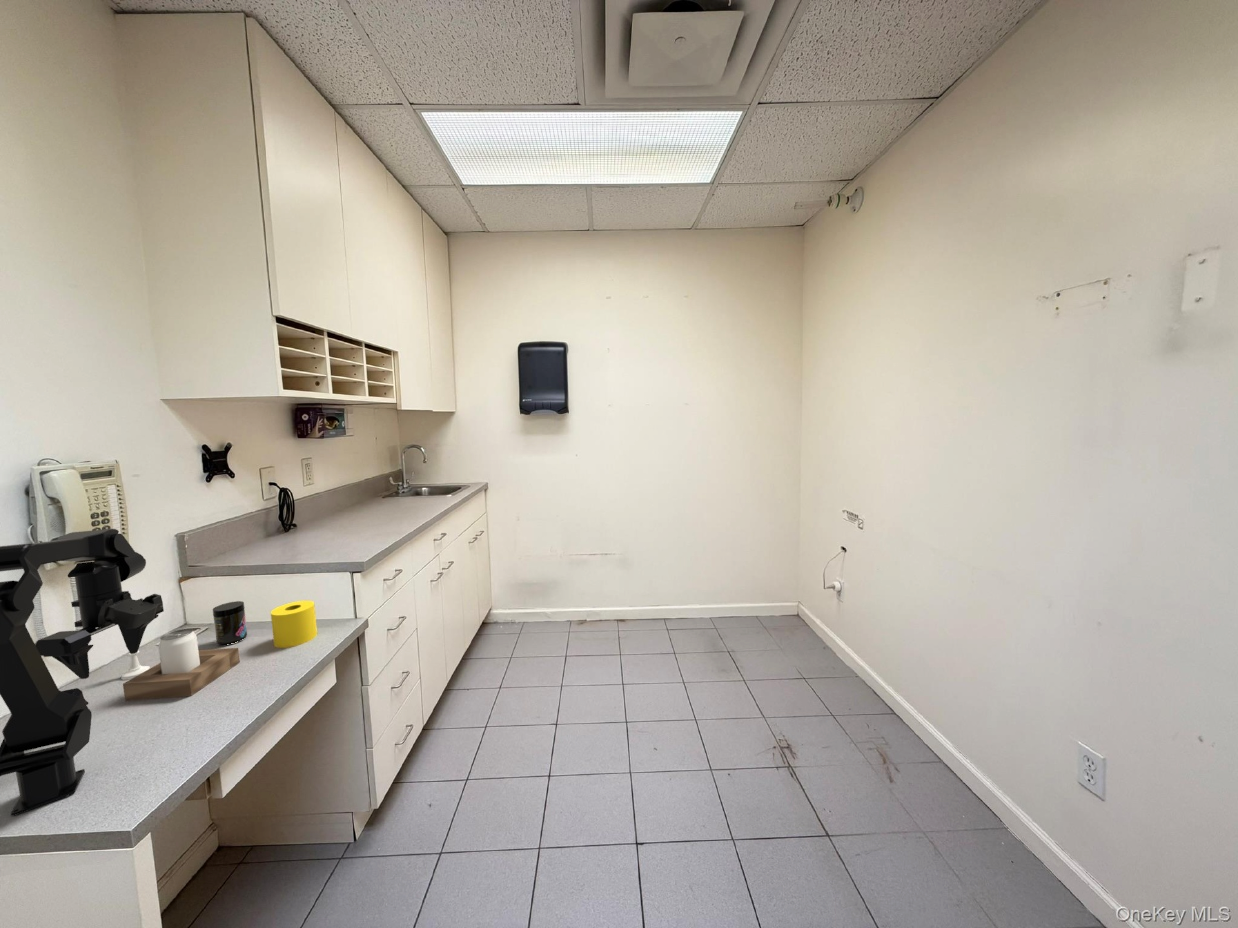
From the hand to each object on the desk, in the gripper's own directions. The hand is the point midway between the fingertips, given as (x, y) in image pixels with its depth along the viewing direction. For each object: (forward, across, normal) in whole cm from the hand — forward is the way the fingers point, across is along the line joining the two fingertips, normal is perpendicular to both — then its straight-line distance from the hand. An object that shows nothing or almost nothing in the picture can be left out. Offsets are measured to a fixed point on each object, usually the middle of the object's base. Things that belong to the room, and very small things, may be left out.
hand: (110, 665), depth 88 cm
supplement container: (+13, +36, +5) cm, 39 cm away
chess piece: (+13, +20, +16) cm, 29 cm away
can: (+13, +16, +1) cm, 20 cm away
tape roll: (+13, +34, -13) cm, 39 cm away
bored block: (+13, +16, 0) cm, 20 cm away
